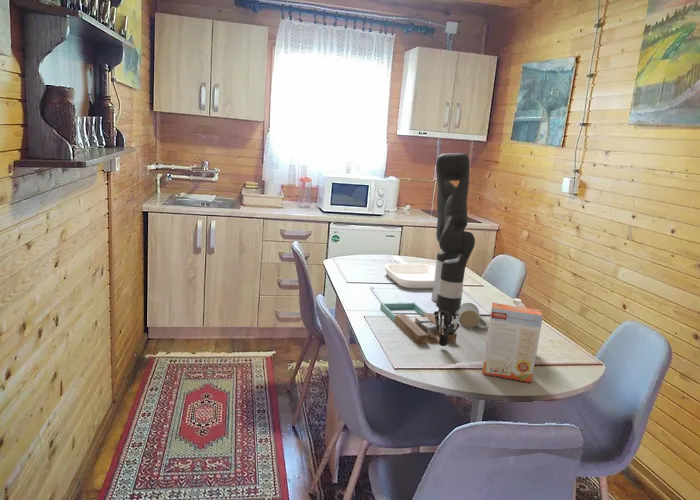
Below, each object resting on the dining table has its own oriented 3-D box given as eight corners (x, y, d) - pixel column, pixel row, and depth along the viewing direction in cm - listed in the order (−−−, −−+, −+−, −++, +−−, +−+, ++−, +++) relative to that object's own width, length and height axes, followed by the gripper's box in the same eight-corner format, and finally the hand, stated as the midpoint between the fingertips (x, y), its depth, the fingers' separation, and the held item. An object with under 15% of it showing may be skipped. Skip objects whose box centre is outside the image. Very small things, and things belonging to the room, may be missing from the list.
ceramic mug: (457, 328, 193) (461, 308, 191) (456, 320, 200) (459, 300, 199) (487, 332, 191) (491, 312, 190) (485, 324, 199) (488, 305, 198)
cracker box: (530, 375, 159) (542, 309, 154) (531, 384, 153) (543, 315, 149) (482, 366, 162) (492, 301, 157) (481, 374, 157) (492, 307, 152)
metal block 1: (425, 327, 187) (426, 316, 186) (429, 332, 183) (430, 321, 182) (414, 327, 186) (415, 316, 185) (418, 332, 182) (419, 321, 181)
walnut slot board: (430, 323, 194) (431, 313, 193) (455, 345, 176) (456, 333, 176) (394, 325, 190) (395, 314, 189) (416, 347, 172) (418, 335, 171)
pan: (400, 290, 232) (401, 280, 231) (369, 263, 272) (370, 254, 271) (456, 290, 240) (457, 280, 239) (417, 264, 280) (418, 255, 279)
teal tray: (413, 310, 207) (414, 302, 207) (429, 323, 194) (430, 315, 194) (380, 310, 203) (380, 303, 202) (393, 324, 190) (394, 316, 189)
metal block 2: (429, 333, 182) (431, 322, 181) (436, 337, 179) (437, 326, 178) (419, 334, 180) (421, 323, 179) (426, 338, 177) (427, 327, 176)
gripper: (471, 300, 161) (463, 353, 165) (450, 286, 173) (443, 336, 177) (449, 300, 159) (441, 354, 163) (429, 287, 171) (423, 337, 175)
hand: (442, 345), depth 170 cm, fingers closed
